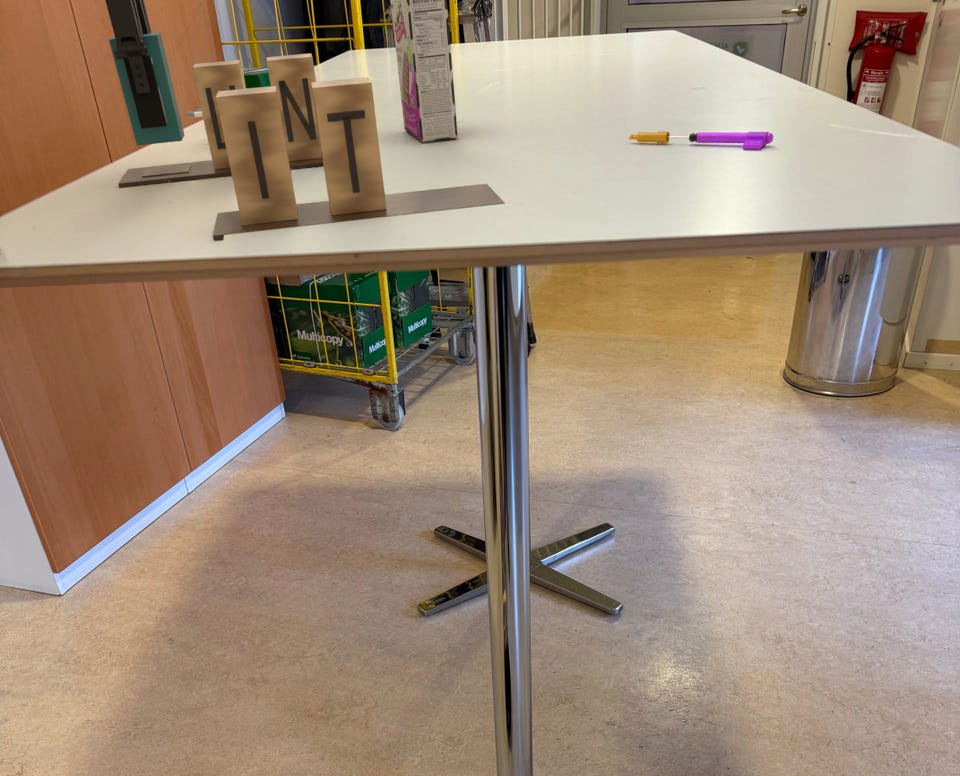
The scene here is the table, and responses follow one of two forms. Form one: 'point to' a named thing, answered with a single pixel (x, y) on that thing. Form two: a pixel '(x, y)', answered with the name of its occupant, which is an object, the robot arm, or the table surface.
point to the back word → (210, 78)
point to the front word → (345, 161)
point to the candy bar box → (425, 68)
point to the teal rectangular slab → (166, 92)
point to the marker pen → (710, 138)
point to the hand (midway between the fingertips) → (156, 123)
